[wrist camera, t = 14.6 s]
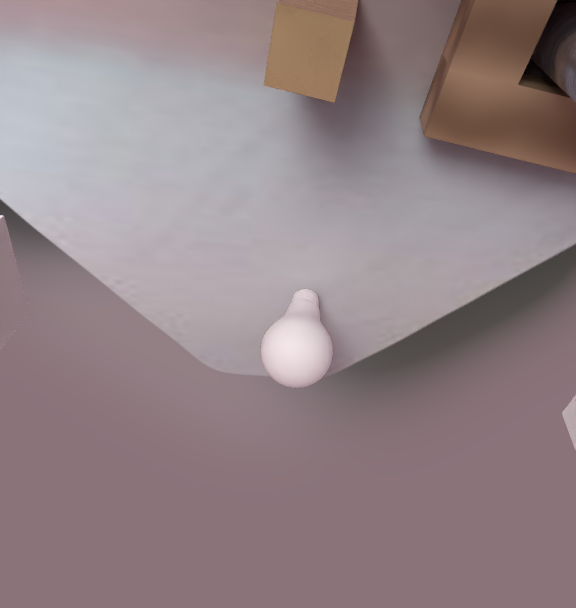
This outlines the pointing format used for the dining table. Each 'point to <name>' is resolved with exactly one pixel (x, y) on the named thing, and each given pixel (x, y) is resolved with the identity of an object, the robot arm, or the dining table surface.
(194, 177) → the dining table surface
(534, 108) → the socket block
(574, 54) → the cylinder
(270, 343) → the lightbulb
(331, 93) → the square bit
